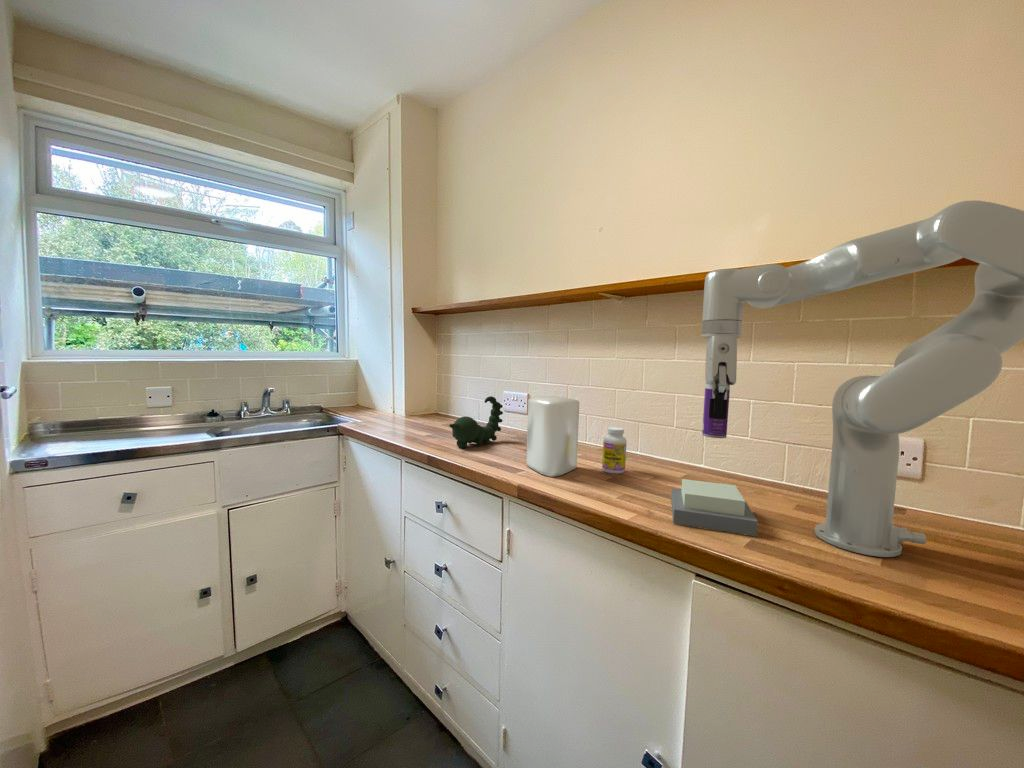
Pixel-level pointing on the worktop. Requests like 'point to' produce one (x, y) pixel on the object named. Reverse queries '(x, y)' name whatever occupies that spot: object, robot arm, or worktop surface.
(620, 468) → the supplement bottle
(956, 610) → the worktop surface
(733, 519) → the tower base
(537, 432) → the white rounded canister
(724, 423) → the container
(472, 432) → the toy figurine
